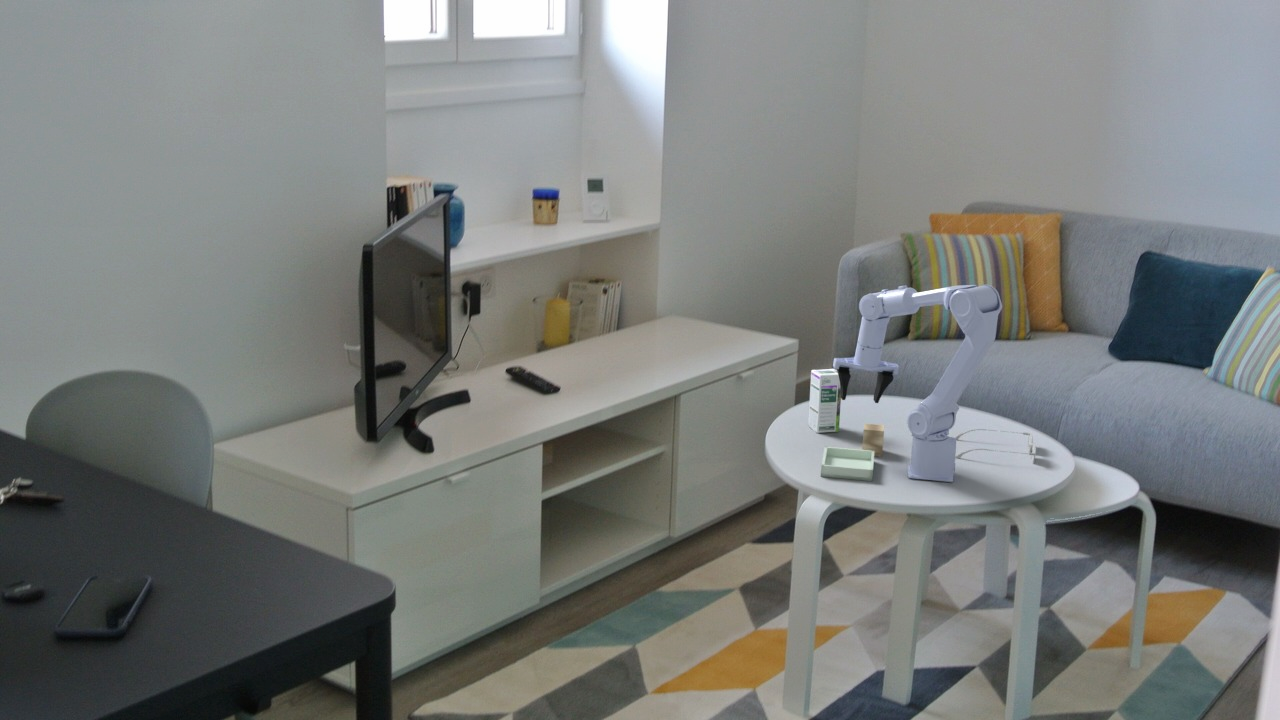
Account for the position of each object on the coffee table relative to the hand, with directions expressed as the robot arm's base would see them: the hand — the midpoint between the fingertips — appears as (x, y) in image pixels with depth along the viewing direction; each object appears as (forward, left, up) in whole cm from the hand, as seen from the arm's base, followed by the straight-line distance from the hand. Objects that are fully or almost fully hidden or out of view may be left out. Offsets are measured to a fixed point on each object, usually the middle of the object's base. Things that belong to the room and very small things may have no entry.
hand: (859, 399), depth 287 cm
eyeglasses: (-31, -8, -13) cm, 34 cm away
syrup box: (+8, -14, -12) cm, 20 cm away
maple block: (-4, 0, -12) cm, 13 cm away
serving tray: (+1, +13, -12) cm, 18 cm away
